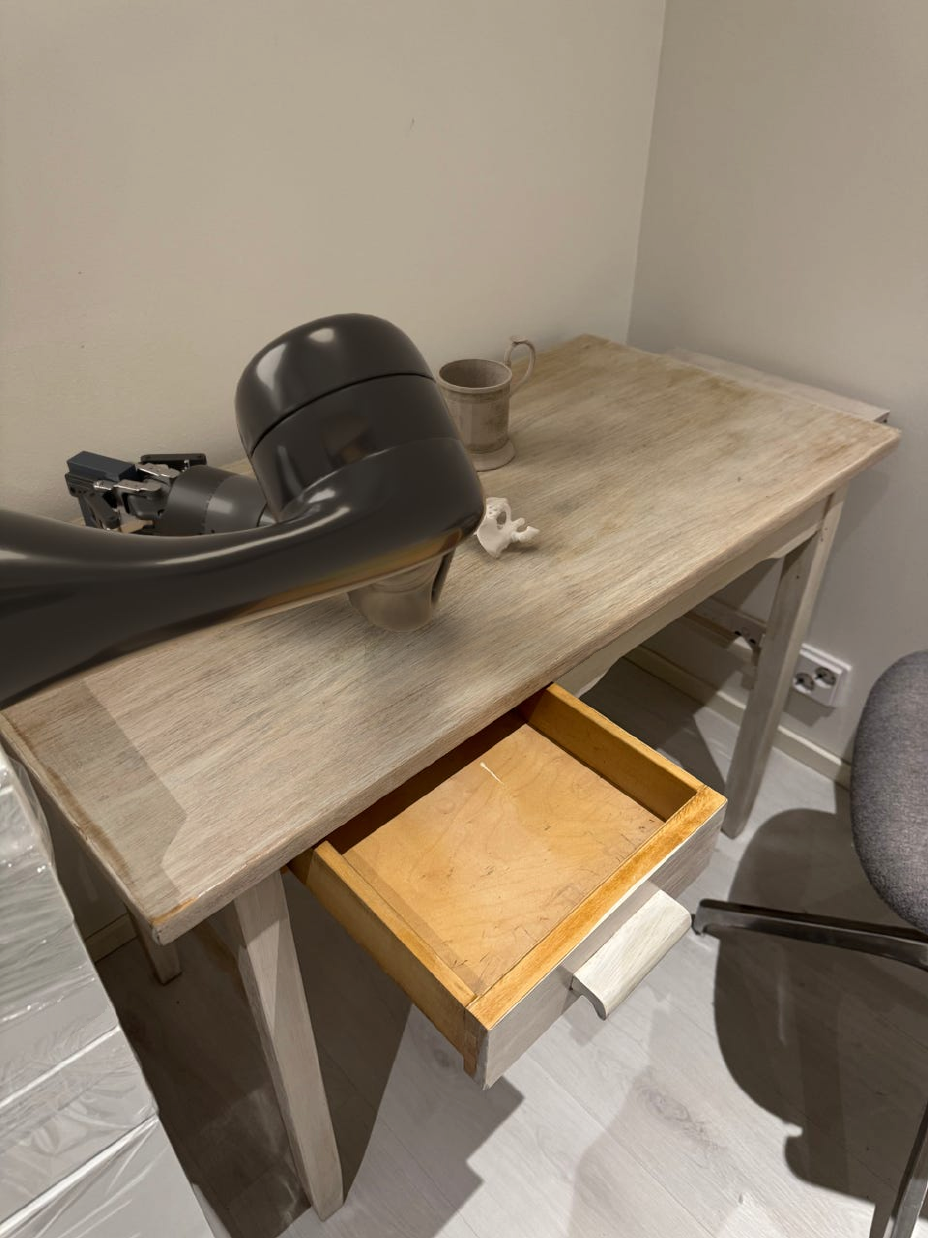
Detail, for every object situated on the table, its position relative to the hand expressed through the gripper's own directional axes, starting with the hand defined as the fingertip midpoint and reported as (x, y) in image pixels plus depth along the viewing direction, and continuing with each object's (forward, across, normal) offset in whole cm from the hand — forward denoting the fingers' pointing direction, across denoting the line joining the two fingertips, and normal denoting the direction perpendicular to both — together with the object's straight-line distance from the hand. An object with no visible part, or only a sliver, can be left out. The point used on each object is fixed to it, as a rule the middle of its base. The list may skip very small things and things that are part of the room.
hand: (80, 474), depth 82 cm
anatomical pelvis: (-34, -19, +9) cm, 40 cm away
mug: (-25, -37, +9) cm, 46 cm away
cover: (-3, 0, +8) cm, 9 cm away
